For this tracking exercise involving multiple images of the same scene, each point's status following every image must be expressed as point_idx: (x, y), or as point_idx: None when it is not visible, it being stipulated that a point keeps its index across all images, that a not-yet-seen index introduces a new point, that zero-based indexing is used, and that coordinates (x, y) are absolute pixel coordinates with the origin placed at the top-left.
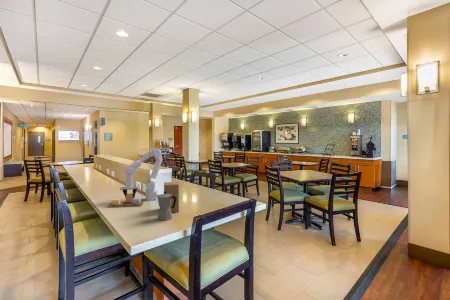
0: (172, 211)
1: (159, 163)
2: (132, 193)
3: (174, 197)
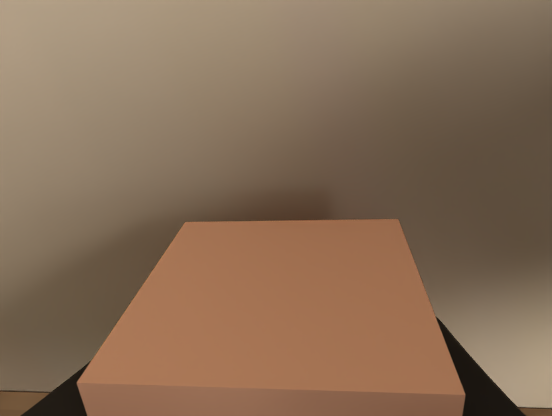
0: None
1: None
2: (365, 404)
3: None
